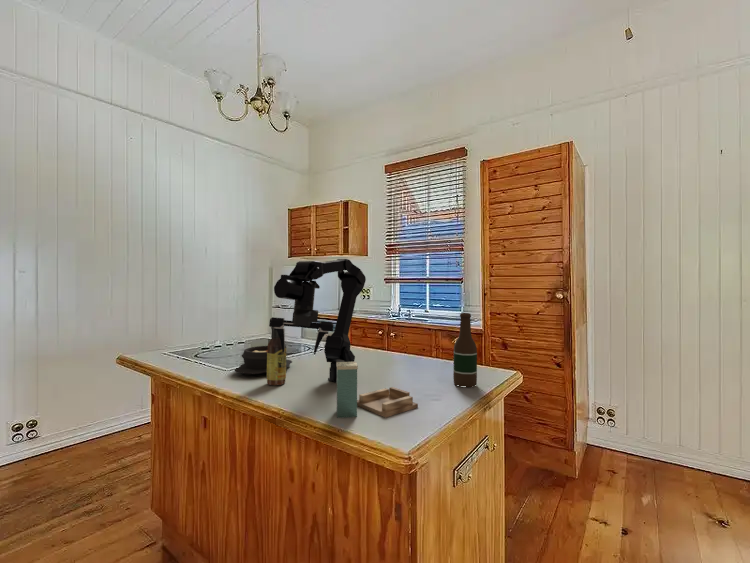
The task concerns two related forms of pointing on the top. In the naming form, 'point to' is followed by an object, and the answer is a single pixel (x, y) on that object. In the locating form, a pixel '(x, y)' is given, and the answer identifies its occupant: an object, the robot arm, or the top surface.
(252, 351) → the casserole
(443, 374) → the top surface
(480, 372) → the top surface
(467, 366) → the beer bottle
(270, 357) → the sauce bottle
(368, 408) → the wooden square frame
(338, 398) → the tea tin
